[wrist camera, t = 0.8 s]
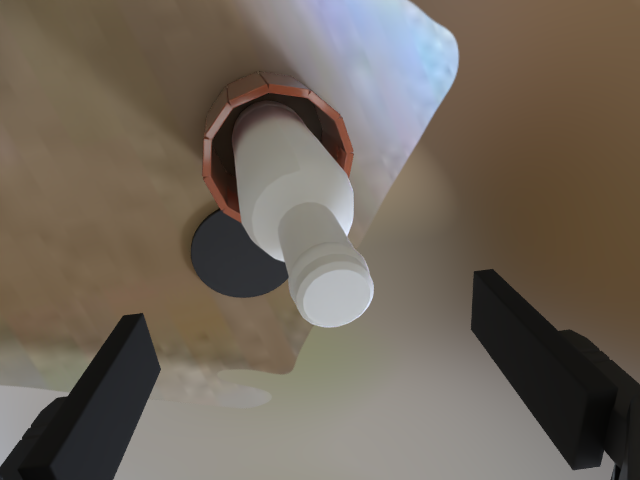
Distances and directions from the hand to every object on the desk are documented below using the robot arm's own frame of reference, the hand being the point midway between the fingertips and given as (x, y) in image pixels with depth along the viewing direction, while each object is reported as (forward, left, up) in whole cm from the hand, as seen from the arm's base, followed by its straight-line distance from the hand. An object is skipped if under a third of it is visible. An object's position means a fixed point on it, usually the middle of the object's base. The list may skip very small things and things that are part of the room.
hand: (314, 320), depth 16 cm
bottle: (+1, +1, -32) cm, 32 cm away
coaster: (+7, -12, -32) cm, 35 cm away
